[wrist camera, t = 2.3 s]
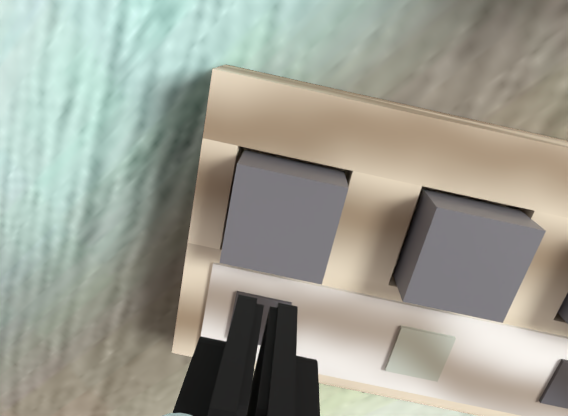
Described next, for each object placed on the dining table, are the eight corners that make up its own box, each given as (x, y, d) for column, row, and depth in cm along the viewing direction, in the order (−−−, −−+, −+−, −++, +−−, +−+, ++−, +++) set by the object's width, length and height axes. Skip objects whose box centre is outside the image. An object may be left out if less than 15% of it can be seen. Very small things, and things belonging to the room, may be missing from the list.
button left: (320, 259, 23) (321, 284, 21) (228, 239, 23) (219, 262, 21) (344, 171, 22) (348, 188, 19) (244, 149, 22) (236, 163, 19)
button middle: (482, 293, 24) (502, 322, 21) (393, 274, 24) (402, 301, 21) (519, 209, 22) (546, 230, 19) (422, 188, 22) (436, 207, 19)
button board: (585, 399, 29) (624, 450, 26) (187, 317, 29) (169, 357, 25) (720, 174, 24) (795, 199, 20) (226, 64, 23) (210, 69, 19)
